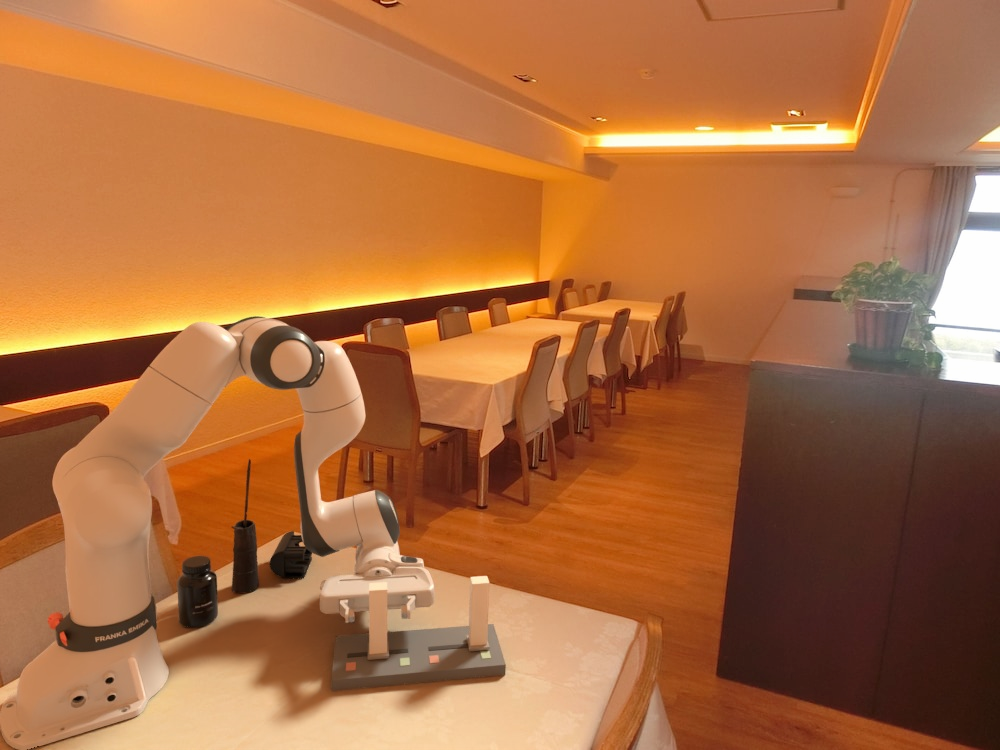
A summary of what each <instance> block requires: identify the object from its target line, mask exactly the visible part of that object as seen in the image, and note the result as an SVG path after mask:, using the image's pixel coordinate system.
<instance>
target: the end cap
mask: <svg viewBox="0 0 1000 750" xmlns="http://www.w3.org/2000/svg"><path fill="white" fill-rule="evenodd" d="M300 543H303V541H302V537H301V534H295V531H293V530H291V531H288V532H286V533H285V534H283V536H282V537H281V538H280V540H279V543H278V544H277V546H276V548H275V550H274V551H273V553H272V555H271V558H270V560H269V569H270V570H271V572H272V573H273V574H274V575H276V576H278V577H279V578H281V579H284V580H302V578H303V579H304V577H306V576H307V573H308V571H309V567H310V566H309V565H311V562H312V559H313V557H312V555H313V553H312V552H310V551H308V550H307V549H306V548H305V545H303V546H301V545H300ZM307 570H308V571H307ZM293 578H294V579H293ZM298 578H299V579H298ZM300 578H301V579H300Z"/></svg>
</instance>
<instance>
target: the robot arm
mask: <svg viewBox="0 0 1000 750" xmlns="http://www.w3.org/2000/svg"><path fill="white" fill-rule="evenodd" d="M350 361H351V360H350V358H349V357H348V355H347V354H346V351H345V349H343V347H342V346H341V345H340V344H339V343H336V342H333V341H329V340H318V341H314V340H312V339H311V337H309V336H308V335H307V334H306V333H305V332H303V331H302V330H301V329H299V328H298V327H295V326H291V325H289V324H287V323H286V322H283V321H281V320H278V319H274V318H268V317H264V316H256V315H255V316H248V317H245V318H242V319H240V320H238V321H236V322H233V323H232V324H229V325H226V326H225V327H222V326H220V325H219V324H215V323H212V322H206V321H198V322H192V324H189V325H188V326H187V327H186V328H184V329H183V330H182V331H181V332H180V333H179V334H177V335H176V336H174V338H173V339H172V340H171V341H170V342H169V343H168V344H167V345H166V346H165V347H164V348H163V349H162V350H161V351H160V352H159V353H158V354H157V356H156V357H155V358H154V359H153V361H152V362H151V363H150V364H149V366H148V367H147V368H146V369H145V371H144V372H143V373H142V374H141V375H140V377H139V378H138V379H137V380H136V382H135V383H134V384H133V386H132V387H131V388H130V389H129V391H128V392H127V394H125V396H124V397H123V399H122V400H121V401H120V402H119V403H118V404H117V406H116V407H115V408H113V410H112V411H111V412H110V413H109V414H108V415H107V416H106V417H105V418H104V419H103V420H102V421H101V422H99V423H98V424H97V425H96V426H95V427H94V428H93V429H92V430H91V431H90V432H89V433H87V434H86V435H85V437H84V438H82V440H81V441H79V442H78V444H77V445H75V446H74V447H72V448H70V449H69V450H68V451H67V452H65V453H63V455H62V456H61V458H60V459H59V461H58V462H57V464H56V466H55V469H54V472H53V475H52V476H53V477H52V490H53V494H54V496H55V497H56V500H57V503H58V508H59V510H60V514H61V517H62V522H63V530H64V531H63V532H64V543H65V545H64V547H65V567H64V571H65V572H64V573H65V581H66V589H67V597H68V599H67V601H68V606H69V612H68V613H67V614H66V615H65V616H64V615H63V613H61V612H59V611H58V612H54V613H52V614H50V615H49V617H48V618H47V623H48V625H49V628H50V629H51V630H53V631H54V630H55V631H54V632H55V633H54V634H55V640H54V641H53V642H52V643H51V644H50V645H49V646H48V647H46V648H45V649H44V650H43V651H42V652H41V653H40V654H38V655H37V656H36V657H35V658H34V659H32V660H31V661H30V662H29V663H28V664H27V665H26V666H25V667H24V668H23V670H22V671H21V672H20V673H21V674H20V676H19V679H18V681H17V682H18V683H17V686H16V691H15V692H13V693H12V694H10V695H9V696H8V697H7V698H6V700H5V701H4V702H3V704H2V706H1V708H0V733H1V737H2V738H3V740H4V741H5V743H6V744H7V745H8V746H10V747H11V748H13V749H16V750H27V749H28V750H32V749H35V748H38V747H37V746H39V747H41V746H44V745H48V744H51V743H54V742H57V741H61V740H63V739H64V740H65V739H67V738H71V737H74V736H77V735H80V734H84V733H87V732H89V731H93V730H96V729H99V728H103V727H106V726H109V725H113V724H116V723H118V722H119V723H120V722H122V721H126V720H129V719H132V718H135V717H137V716H139V715H140V714H141V713H142V712H143V711H144V709H145V707H146V706H147V704H148V702H149V701H150V699H152V698H153V697H154V696H155V695H157V693H158V692H159V691H160V690H161V689H162V687H164V685H165V684H166V682H167V680H168V679H169V678H168V677H169V675H170V670H169V667H168V665H167V663H166V661H165V658H164V656H163V653H162V651H161V648H160V647H161V646H160V644H159V640H158V635H157V628H158V625H157V623H158V612H157V602H156V600H155V596H153V594H152V589H151V588H152V586H151V577H150V576H151V575H150V574H151V573H150V562H149V561H150V560H149V547H150V546H149V545H150V538H151V537H150V536H151V523H152V522H151V520H152V514H153V500H152V493H151V490H150V487H149V485H148V483H147V481H145V477H146V475H147V474H148V473H149V472H150V470H152V468H154V467H155V466H156V465H157V464H158V463H160V461H162V459H164V458H165V457H166V456H167V455H169V454H170V453H171V452H172V451H175V450H177V449H179V448H181V446H183V445H184V444H185V443H186V442H187V440H188V439H189V437H190V436H191V435H192V433H193V432H194V431H195V429H196V428H197V426H199V424H200V423H201V421H202V420H203V418H204V417H205V416H206V415H207V413H208V412H209V410H210V409H211V408H212V406H213V404H214V403H215V402H216V400H217V399H218V398H219V397H220V395H221V394H222V392H223V390H224V389H225V388H226V387H228V386H229V385H230V384H231V383H232V382H233V381H235V380H237V379H239V378H241V377H244V376H246V377H247V378H249V379H250V380H251V381H254V382H255V383H258V384H261V385H264V386H266V387H267V388H270V389H274V390H281V391H285V390H295V391H296V393H297V395H298V399H299V403H300V405H301V408H302V409H301V410H302V414H303V425H302V428H301V430H300V431H299V432H298V433H297V434H296V435H295V437H294V441H293V442H294V443H293V445H294V446H293V456H294V457H293V458H294V469H295V470H294V471H295V478H296V485H297V493H298V495H297V496H298V501H299V509H300V535H301V537H302V541H303V542H302V544H303V546H305V548H306V549H307V550H308V551H310V552H312V554H313V555H317V556H319V557H321V558H324V557H327V556H329V555H332V554H335V553H338V552H340V551H341V550H346V549H348V548H352V547H355V546H356V549H355V564H354V572H353V573H354V574H341V575H340V574H339V575H332V576H329V577H328V578H326V579H325V580H322V581H321V582H320V586H319V589H320V593H319V610H320V612H321V613H323V614H324V615H329V614H330V615H331V614H340V616H341V617H343V618H344V620H345V621H344V622H345V624H351V623H355V613H357V612H358V613H359V612H369V583H382V582H387V611H388V610H401V611H400V613H401V620H409V619H411V614H412V613H413V612H414V610H416V608H430V607H431V606H433V605H434V603H435V584H434V580H433V578H432V576H431V573H430V572H429V570H428V569H426V568H425V563H424V559H423V558H420V557H415V556H414V557H413V556H406V555H402V554H400V546H399V542H398V540H399V538H400V536H401V532H400V531H401V530H400V529H401V528H400V521H399V516H398V512H397V508H396V506H395V503H394V501H393V500H392V498H391V497H390V496H388V495H387V494H386V493H384V492H382V491H381V490H378V489H375V490H370V491H367V492H366V491H365V492H362V493H358V494H354V495H352V496H348V497H345V498H340V499H337V500H333V501H323V500H322V497H321V496H322V495H321V487H320V478H319V477H320V476H319V468H320V466H321V465H322V464H323V463H324V462H325V460H326V459H328V458H329V457H331V456H332V455H333V454H334V453H336V452H338V451H339V450H341V449H343V448H344V447H346V446H347V445H349V444H350V443H351V442H352V441H353V440H354V439H355V438H356V437H357V436H358V435H359V433H360V432H361V431H362V428H363V426H364V424H365V422H366V407H365V402H364V398H363V397H364V396H363V394H362V391H361V386H360V383H359V380H358V378H357V376H356V372H355V370H354V367H353V366H352V363H351V362H350ZM34 747H35V748H34ZM31 748H32V749H31Z"/></svg>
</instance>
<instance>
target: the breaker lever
mask: <svg viewBox="0 0 1000 750" xmlns="http://www.w3.org/2000/svg"><path fill="white" fill-rule="evenodd" d="M469 578H470V579H469V580H470V581H469V582H470V585H469V588H470V589H469V611H468V612H469V613H468V615H469V617H468V626H469V635H466V639H467V643H468V648H469V651H478V650H489V649H490V647H489V643H488V640H487V635H488V624H489V605H490V580H489V578H488V576H487V575H477V576H470V577H469Z"/></svg>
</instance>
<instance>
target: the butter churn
mask: <svg viewBox="0 0 1000 750" xmlns="http://www.w3.org/2000/svg"><path fill="white" fill-rule="evenodd" d="M251 462H252V461H251V459H248V463H247V469H246V486H245V500H244V514H243V515H244V517H243V519H242V520H238V522H236V524H235V525H231V528H232V529H233V530H234V531H233V534H234V535H233V536H234V537H233V547H232V552H233V560H232V561H233V564H232V581H231V590H232V592H233V593H234V594H240V593H241V594H248V593H252V592H255V591H256V590H258V589H259V570H258V569H259V565H258V544H257V542H258V541H257V539H258V538H257V531H256V523H255V522H254V521H253V520H249V519H247V518H248V514H247V513H248V510H249V509H248V505H249V493H250V480H251V479H250V477H251V465H252V464H251Z"/></svg>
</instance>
